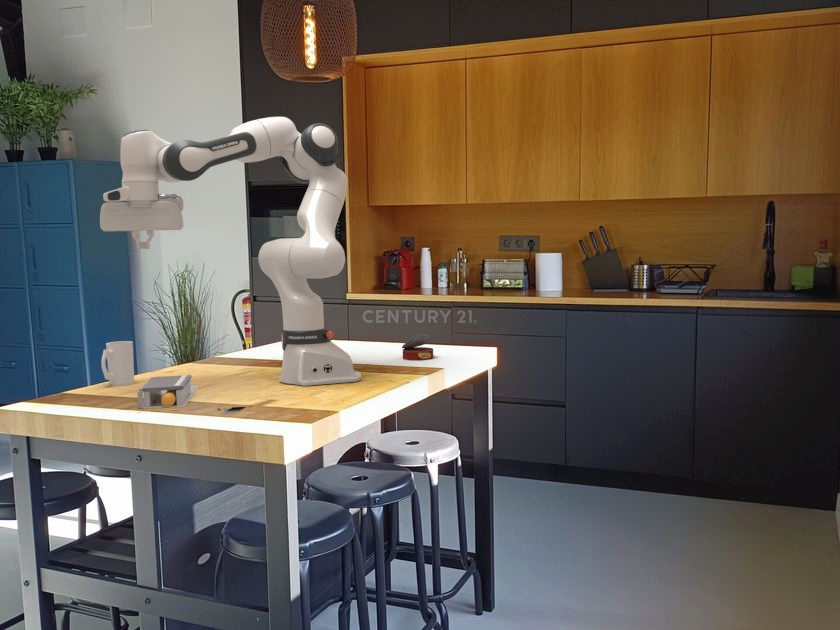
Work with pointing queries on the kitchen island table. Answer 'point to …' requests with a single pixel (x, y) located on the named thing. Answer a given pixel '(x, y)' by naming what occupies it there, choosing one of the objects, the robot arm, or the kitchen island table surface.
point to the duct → (154, 397)
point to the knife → (234, 410)
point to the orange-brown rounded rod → (169, 398)
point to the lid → (166, 383)
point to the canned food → (417, 348)
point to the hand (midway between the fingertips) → (143, 248)
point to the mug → (118, 363)
